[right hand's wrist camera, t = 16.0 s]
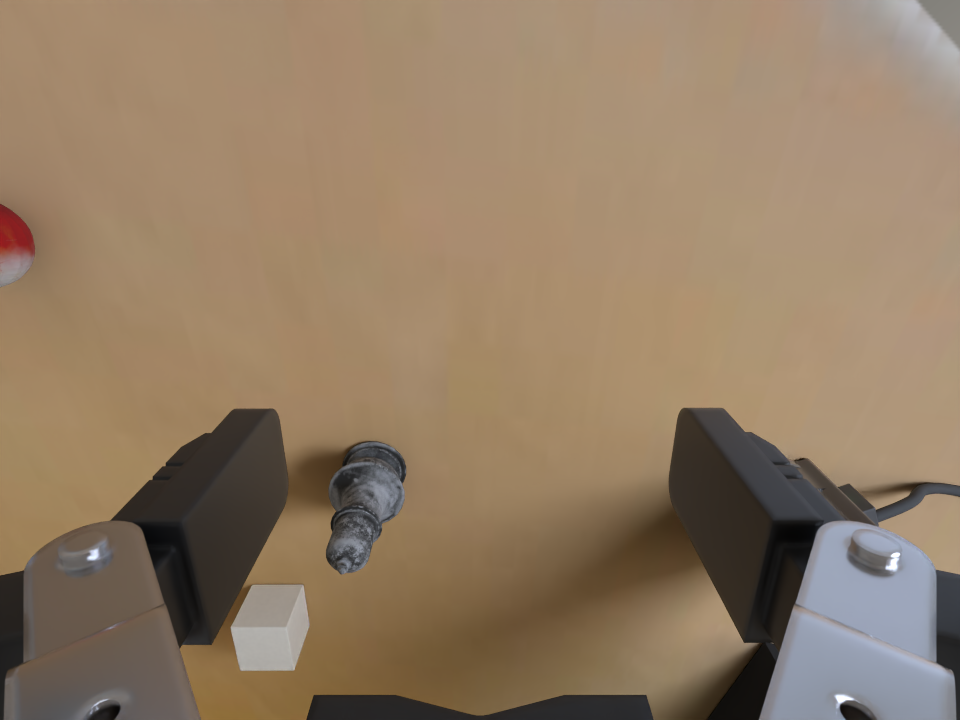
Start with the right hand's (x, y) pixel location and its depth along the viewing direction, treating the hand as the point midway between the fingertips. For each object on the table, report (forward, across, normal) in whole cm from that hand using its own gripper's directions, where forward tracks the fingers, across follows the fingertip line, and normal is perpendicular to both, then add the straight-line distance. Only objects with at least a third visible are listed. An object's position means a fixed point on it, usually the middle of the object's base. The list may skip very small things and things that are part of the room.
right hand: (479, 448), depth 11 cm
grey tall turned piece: (+30, -9, -20) cm, 37 cm away
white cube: (+30, -19, -35) cm, 50 cm away
